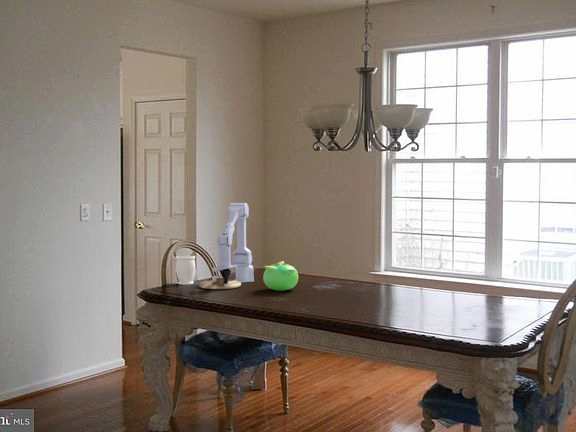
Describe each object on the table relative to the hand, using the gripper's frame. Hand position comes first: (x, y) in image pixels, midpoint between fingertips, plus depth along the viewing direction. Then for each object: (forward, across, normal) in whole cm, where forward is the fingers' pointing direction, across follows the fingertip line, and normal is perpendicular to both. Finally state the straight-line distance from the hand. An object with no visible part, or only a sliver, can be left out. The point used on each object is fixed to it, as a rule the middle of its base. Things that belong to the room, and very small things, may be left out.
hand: (225, 283), depth 373 cm
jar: (+3, +5, -29) cm, 29 cm away
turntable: (+3, -2, -8) cm, 9 cm away
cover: (+1, -2, -8) cm, 8 cm away
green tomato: (+3, -17, +24) cm, 29 cm away
